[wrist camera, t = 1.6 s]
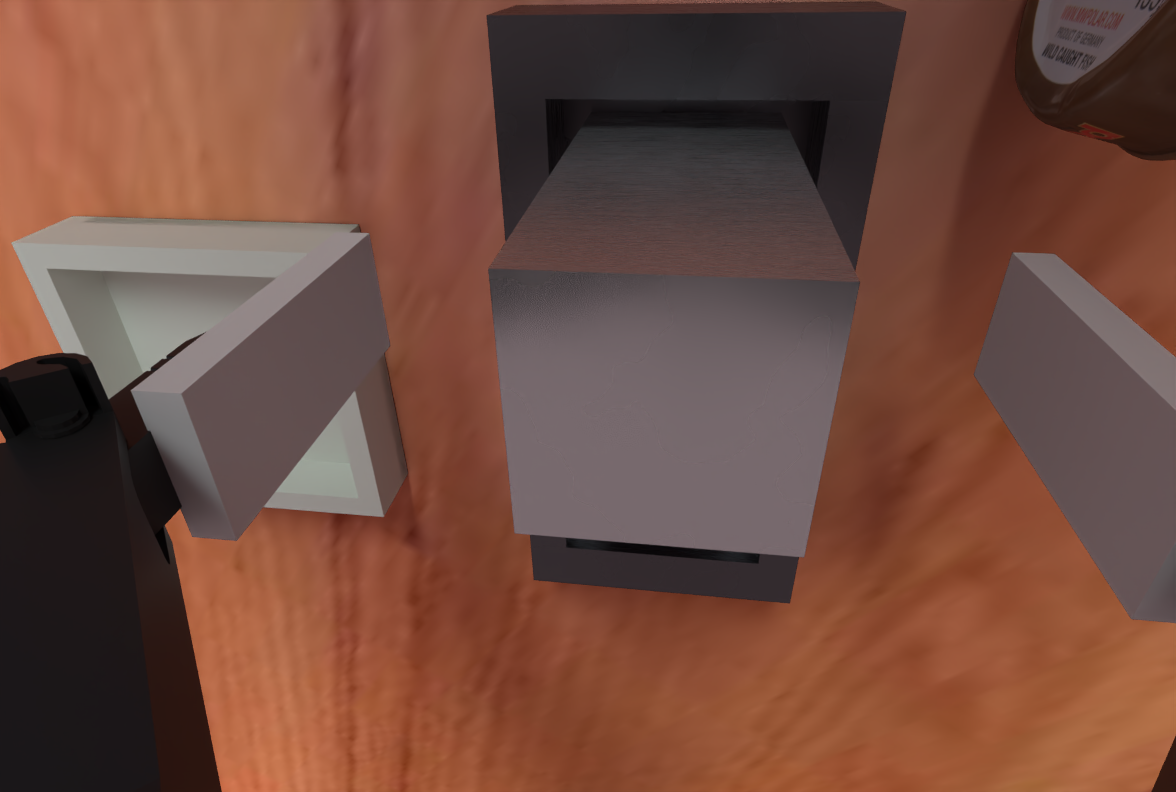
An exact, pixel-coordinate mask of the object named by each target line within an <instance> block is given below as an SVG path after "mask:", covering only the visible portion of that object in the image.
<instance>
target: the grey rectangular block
mask: <svg viewBox="0 0 1176 792" xmlns="http://www.w3.org/2000/svg"><path fill="white" fill-rule="evenodd" d="M488 271H489V281H490V291H491V301H492V311H493V321H494V331H495V341H496V351H497V361H498V371H499V381H500V391H501V401H502V411H503V422H504V432H505V442H506V452H507V462H508V472H509V482H510V492H511V502H512V512H513V522H514V532H515V533H517V534H529V535H541V536H553V537H565V538H577V539H590V540H602V541H614V542H626V543H638V544H650V545H662V546H674V547H686V548H698V549H710V550H722V551H734V552H746V553H758V554H770V555H782V556H794V557H804V556H805V551H806V546H807V541H808V536H809V531H810V526H811V521H812V516H813V511H814V506H815V501H816V496H817V492H818V487H819V482H820V477H821V472H822V467H823V462H824V457H825V452H826V447H827V442H828V437H829V432H830V427H831V422H832V417H833V413H834V408H835V403H836V398H837V393H838V388H839V383H840V378H841V373H842V368H843V363H844V358H845V353H846V348H847V343H848V338H849V334H850V329H851V324H852V319H853V314H854V309H855V304H856V299H857V294H858V289H859V284H860V281H859V279H858V277H857V275H856V272H855V270H854V268H853V266H852V264H851V262H850V260H849V257H848V255H847V253H846V251H845V249H844V247H843V245H842V242H841V240H840V238H839V236H838V234H837V232H836V229H835V227H834V225H833V223H832V221H831V219H830V217H829V214H828V212H827V210H826V208H825V206H824V204H823V202H822V199H821V197H820V195H819V193H818V191H817V189H816V186H815V184H814V182H813V180H812V178H811V176H810V174H809V171H808V169H807V167H806V165H805V163H804V161H803V159H802V156H801V154H800V152H799V150H798V148H797V146H796V143H795V141H794V139H793V137H792V135H791V133H790V131H789V128H788V126H787V124H786V122H785V120H784V118H783V116H782V113H676V112H591V113H590V115H589V116H588V118H587V119H586V121H585V122H584V124H583V125H582V127H581V128H580V130H579V131H578V133H577V134H576V136H575V137H574V139H573V140H572V142H571V144H570V145H569V147H568V148H567V150H566V151H565V153H564V154H563V156H562V157H561V159H560V160H559V162H558V163H557V165H556V166H555V168H554V169H553V171H552V172H551V174H550V175H549V177H548V178H547V180H546V182H545V183H544V185H543V186H542V188H541V189H540V191H539V192H538V194H537V195H536V197H535V198H534V200H533V201H532V203H531V204H530V206H529V207H528V209H527V210H526V212H525V213H524V215H523V217H522V218H521V220H520V221H519V223H518V224H517V226H516V227H515V229H514V230H513V232H512V233H511V235H510V236H509V238H508V239H507V241H506V242H505V244H504V245H503V247H502V248H501V250H500V251H499V253H498V255H497V256H496V258H495V259H494V261H493V262H492V264H491V265H490V267H489V268H488Z"/></svg>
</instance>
